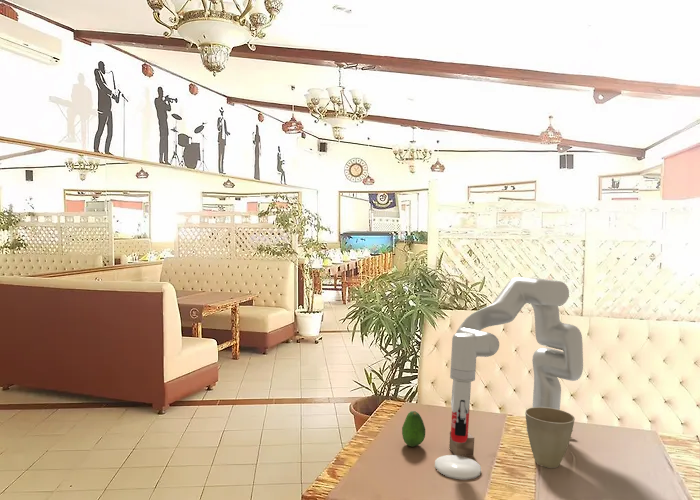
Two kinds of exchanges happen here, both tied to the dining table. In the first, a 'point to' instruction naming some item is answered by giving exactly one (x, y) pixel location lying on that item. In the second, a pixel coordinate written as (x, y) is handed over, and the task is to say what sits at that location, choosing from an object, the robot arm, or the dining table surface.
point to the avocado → (413, 429)
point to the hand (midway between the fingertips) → (459, 431)
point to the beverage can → (454, 437)
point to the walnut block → (463, 446)
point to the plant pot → (548, 434)
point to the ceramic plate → (458, 467)
